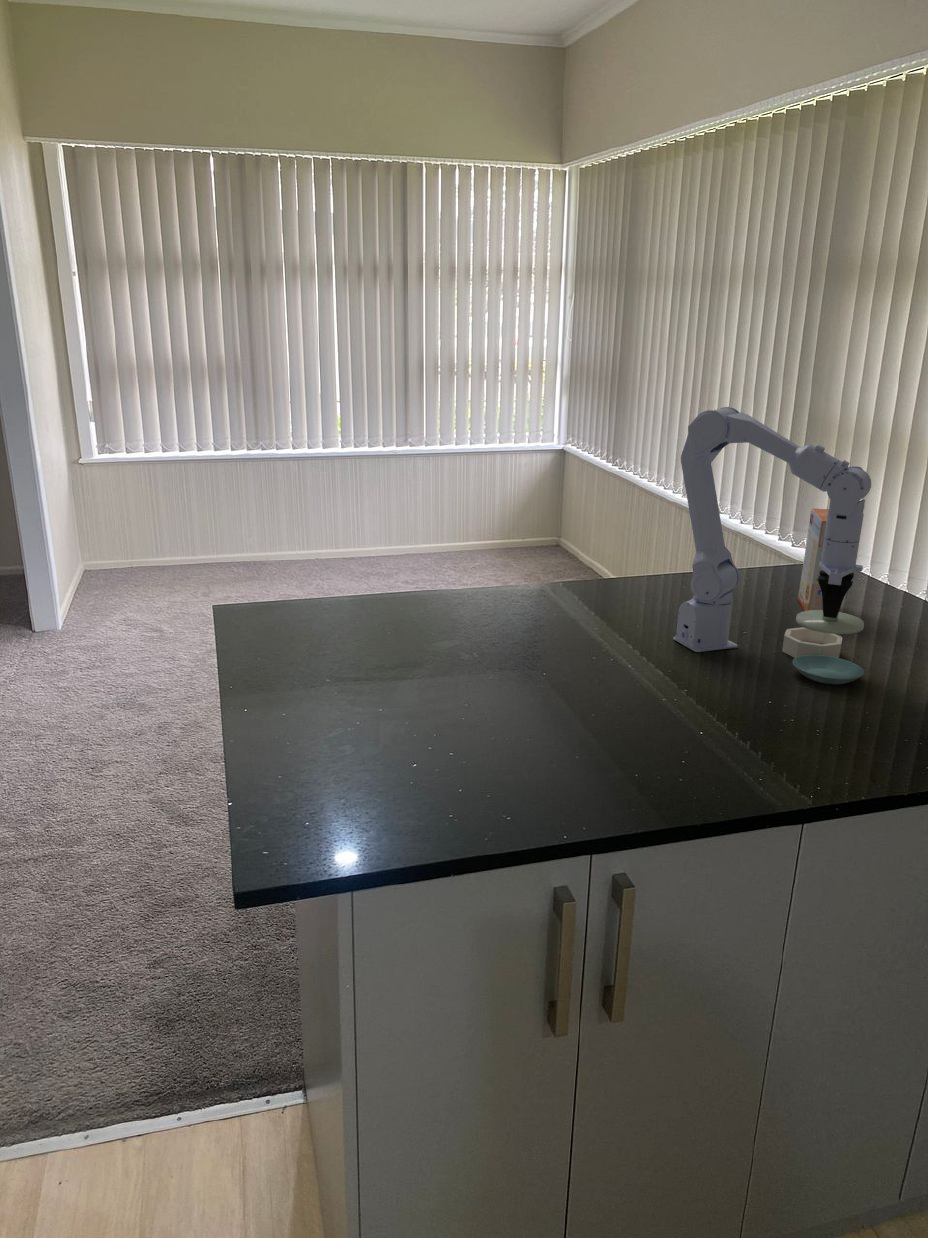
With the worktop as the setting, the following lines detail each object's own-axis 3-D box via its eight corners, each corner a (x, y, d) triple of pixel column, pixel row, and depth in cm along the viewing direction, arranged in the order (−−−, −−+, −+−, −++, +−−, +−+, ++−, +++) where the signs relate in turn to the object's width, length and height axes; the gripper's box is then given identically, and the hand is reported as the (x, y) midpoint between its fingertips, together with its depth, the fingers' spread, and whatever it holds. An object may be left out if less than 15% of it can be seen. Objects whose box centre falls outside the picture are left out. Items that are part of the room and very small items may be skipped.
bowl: (807, 664, 171) (810, 647, 170) (772, 646, 180) (774, 630, 179) (851, 658, 175) (853, 642, 174) (814, 641, 183) (816, 625, 182)
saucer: (805, 661, 173) (806, 649, 173) (871, 677, 166) (873, 665, 166) (780, 678, 165) (782, 666, 164) (849, 696, 158) (851, 684, 157)
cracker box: (835, 620, 197) (851, 522, 190) (805, 617, 198) (820, 520, 191) (825, 601, 210) (839, 508, 203) (797, 599, 211) (810, 506, 204)
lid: (823, 636, 160) (826, 615, 159) (782, 617, 170) (785, 597, 169) (877, 630, 163) (880, 609, 162) (834, 611, 173) (837, 592, 172)
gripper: (865, 550, 154) (853, 629, 158) (867, 533, 167) (855, 606, 171) (820, 545, 156) (809, 623, 161) (825, 528, 169) (814, 601, 173)
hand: (830, 614), depth 166 cm, fingers closed on lid, 3 cm apart
